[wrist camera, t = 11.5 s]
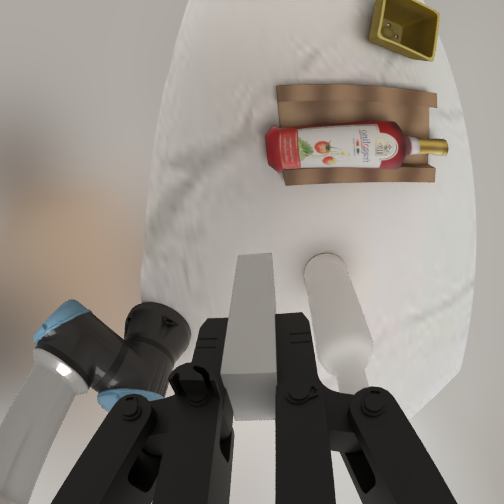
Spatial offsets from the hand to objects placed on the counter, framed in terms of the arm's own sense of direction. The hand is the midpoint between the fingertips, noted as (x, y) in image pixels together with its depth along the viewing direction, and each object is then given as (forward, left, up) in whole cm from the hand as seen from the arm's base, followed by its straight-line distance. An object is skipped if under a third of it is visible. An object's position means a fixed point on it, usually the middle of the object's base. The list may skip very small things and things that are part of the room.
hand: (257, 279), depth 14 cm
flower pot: (+21, +20, -34) cm, 45 cm away
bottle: (+9, -22, -34) cm, 42 cm away
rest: (+15, +3, -34) cm, 37 cm away
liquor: (0, +1, -30) cm, 30 cm away
